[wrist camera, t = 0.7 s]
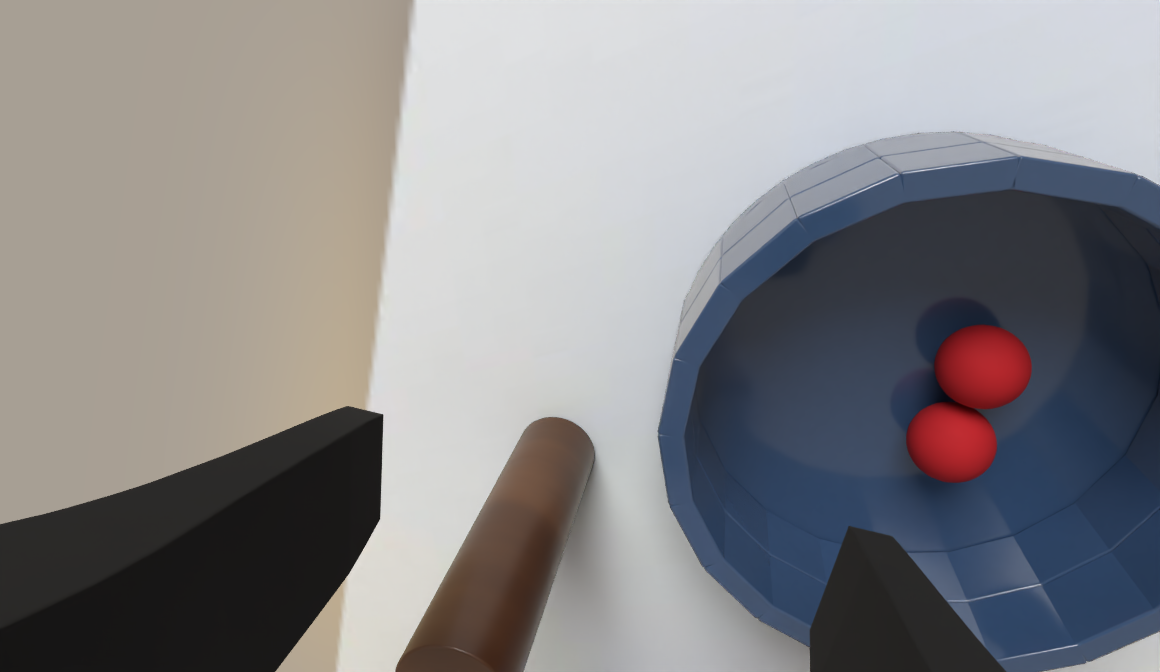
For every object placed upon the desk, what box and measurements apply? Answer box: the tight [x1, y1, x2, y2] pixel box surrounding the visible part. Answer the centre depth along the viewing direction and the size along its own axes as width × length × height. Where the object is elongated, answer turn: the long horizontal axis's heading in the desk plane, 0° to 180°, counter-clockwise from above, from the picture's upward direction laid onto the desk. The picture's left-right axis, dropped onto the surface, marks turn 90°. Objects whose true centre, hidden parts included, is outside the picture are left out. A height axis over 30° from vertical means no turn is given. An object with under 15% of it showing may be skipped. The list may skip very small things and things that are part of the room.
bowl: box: [658, 131, 1160, 672], centre depth 16 cm, size 12×12×4 cm
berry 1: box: [934, 325, 1032, 409], centre depth 16 cm, size 2×2×2 cm
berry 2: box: [906, 402, 997, 483], centre depth 17 cm, size 2×2×2 cm
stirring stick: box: [395, 417, 594, 672], centre depth 18 cm, size 2×2×9 cm
